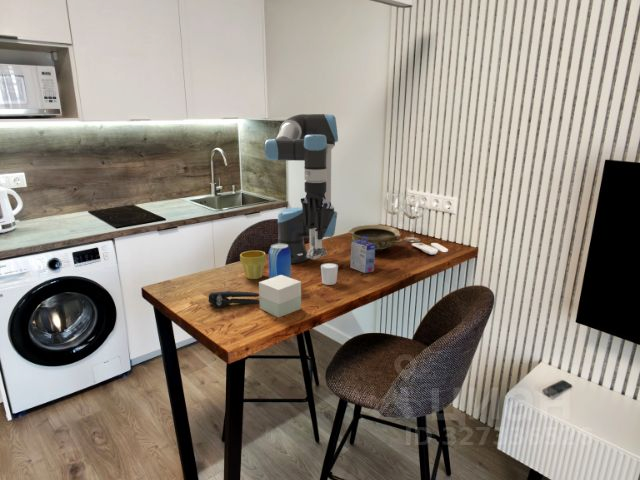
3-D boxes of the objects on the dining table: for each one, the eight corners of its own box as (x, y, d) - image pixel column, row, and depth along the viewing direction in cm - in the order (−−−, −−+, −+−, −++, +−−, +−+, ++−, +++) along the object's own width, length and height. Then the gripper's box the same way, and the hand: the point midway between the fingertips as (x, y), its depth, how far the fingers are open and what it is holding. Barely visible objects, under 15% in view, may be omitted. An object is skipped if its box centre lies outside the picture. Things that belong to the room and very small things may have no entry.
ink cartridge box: (375, 271, 183) (376, 238, 180) (365, 274, 180) (366, 240, 176) (359, 265, 191) (360, 233, 187) (349, 267, 188) (350, 235, 184)
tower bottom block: (259, 309, 147) (259, 295, 146) (282, 300, 154) (282, 287, 153) (278, 318, 140) (277, 304, 139) (301, 309, 147) (301, 295, 146)
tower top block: (259, 296, 145) (258, 282, 144) (281, 287, 152) (281, 274, 151) (279, 304, 139) (278, 290, 138) (301, 295, 146) (301, 281, 145)
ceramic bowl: (335, 250, 213) (335, 230, 210) (361, 240, 231) (362, 221, 229) (388, 262, 195) (389, 241, 192) (412, 250, 213) (413, 230, 211)
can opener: (207, 310, 146) (206, 295, 144) (209, 302, 152) (208, 287, 151) (260, 307, 149) (259, 292, 147) (259, 299, 155) (259, 284, 154)
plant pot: (239, 273, 180) (238, 251, 177) (263, 271, 183) (262, 249, 181) (243, 282, 171) (242, 258, 168) (269, 279, 174) (268, 256, 171)
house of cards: (313, 249, 163) (312, 229, 161) (330, 253, 157) (330, 233, 155) (296, 254, 157) (295, 234, 154) (313, 259, 151) (313, 238, 149)
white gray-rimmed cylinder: (325, 286, 166) (325, 269, 164) (317, 280, 172) (317, 264, 170) (341, 283, 169) (341, 266, 168) (332, 278, 175) (332, 261, 173)
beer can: (282, 290, 162) (281, 250, 158) (265, 286, 167) (263, 246, 162) (295, 283, 169) (294, 244, 165) (278, 279, 173) (277, 241, 169)
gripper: (292, 179, 150) (293, 244, 156) (322, 184, 139) (322, 253, 146) (308, 177, 155) (309, 240, 161) (339, 182, 144) (338, 249, 150)
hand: (315, 246), depth 153 cm, fingers closed on house of cards, 2 cm apart
